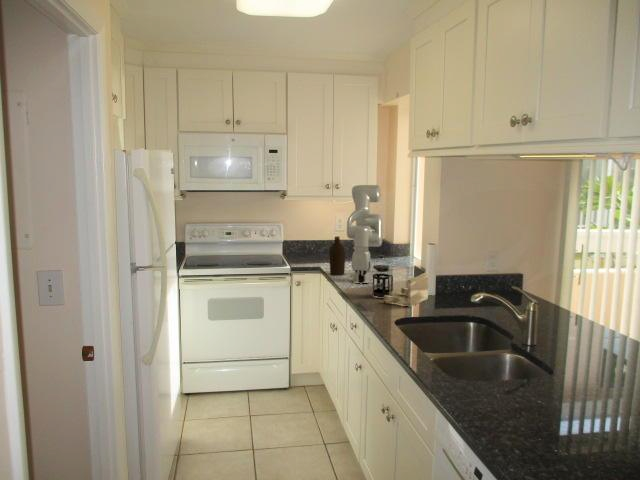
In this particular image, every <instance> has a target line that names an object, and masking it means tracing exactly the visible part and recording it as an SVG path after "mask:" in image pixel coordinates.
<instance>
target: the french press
mask: <svg viewBox="0 0 640 480" xmlns="http://www.w3.org/2000/svg"><path fill="white" fill-rule="evenodd" d="M377 257H379V258H380V264H376V265H375V264H374V265H373V266H372V267H373V269H374V270H376V271H377V272H378V273H375V274H372V280H373V282H372V296H373V295H374V296H378V297H384V295H388V296H390V292H393V289H394V287H393V286H394V282H393V281H394V280H393V279H394V277H393V275H392V274H388V273H386V272H389V271H390V269H389V268H391V267H390V265H386V264H382V263H383V262H382V260H383V258H384V257H386V255H384V254H378V255H377ZM390 278H391V279H390ZM375 280H376V283H375ZM386 280H387V283H386ZM375 288H376V289H375ZM386 288H387V289H386Z"/></svg>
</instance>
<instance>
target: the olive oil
mask: <svg viewBox="0 0 640 480" xmlns="http://www.w3.org/2000/svg"><path fill="white" fill-rule="evenodd" d="M340 238H341V237H340V236H334V243H332V245H331V246H330V247H329V252H328V255H329V272H330V273H329V274H330V275H331V276H335V275H339V276H343V274H344V275H345V266H346V248H345V247H344V245H343V244H342V243H341V242H340V241H341V240H340Z"/></svg>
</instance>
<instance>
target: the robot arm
mask: <svg viewBox="0 0 640 480" xmlns="http://www.w3.org/2000/svg"><path fill="white" fill-rule="evenodd" d="M351 196H352V200H353V203H354V205H355V206H354V208H355V209H354V211H353V212H352V213H351V214H349V216H348V218H347V220H346V236H347V238H349V239H351V240H353V245H354V246H353V247H352V249H353V250H354V251H353V253H352V256H351V257H352V258H351V269H352V272H354V273H350V275H349V277H350V278H352V280H351V282H352V281H353V282H358V283H367V282H372V281H373V278H371V267H372V264H371V263H372V262H371V261H372V260H371V252H370V251H369V248H370V247H373V248H374V247H381V246H382V243H383V218H382V216H381V215H380V214H377V213H371V210H370V209H371V208H370V207H371V204H370V203H379V202H380V200H381V186H379V185H378V184H369V185H368V184H358V185H354V186H352V188H351ZM354 222H355V224H354V225H353V223H354ZM353 282H352V283H353ZM372 283H373V282H372Z"/></svg>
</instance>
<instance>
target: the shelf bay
mask: <svg viewBox="0 0 640 480" xmlns="http://www.w3.org/2000/svg"><path fill="white" fill-rule="evenodd" d="M401 293H402V294H406V295H408V296H407V298H405V297H400V296H398V297H397V296H394V295H393V296H392V295H389V296H388V295H384V299H383V302H384V301H388V302H393V303H398V304H403V305H408V306H412V305H414V304H417V303H419V302H420V303H422V302H424V301H426V300H428V298H429V272H424V273H421V274H419V275H417V276H415V277H412V278H410V279H408V280H407V287H401V288H400V294H401ZM420 303H419V304H420ZM417 305H418V304H417Z"/></svg>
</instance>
